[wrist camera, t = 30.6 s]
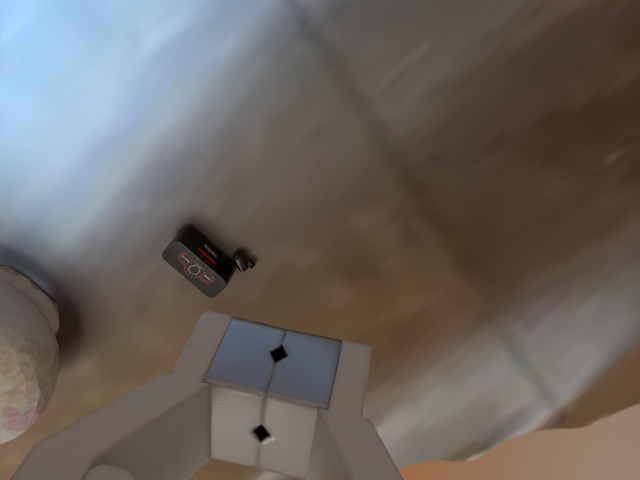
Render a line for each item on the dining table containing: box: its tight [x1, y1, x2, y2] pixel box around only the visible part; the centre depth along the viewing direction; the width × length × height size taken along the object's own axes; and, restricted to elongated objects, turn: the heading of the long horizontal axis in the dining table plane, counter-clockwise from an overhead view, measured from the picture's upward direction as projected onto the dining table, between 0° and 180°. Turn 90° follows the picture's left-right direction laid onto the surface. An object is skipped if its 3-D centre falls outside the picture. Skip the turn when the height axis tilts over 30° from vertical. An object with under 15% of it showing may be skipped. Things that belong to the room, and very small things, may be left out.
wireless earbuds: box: [162, 227, 255, 298], centre depth 56 cm, size 5×7×3 cm, turn 46°
